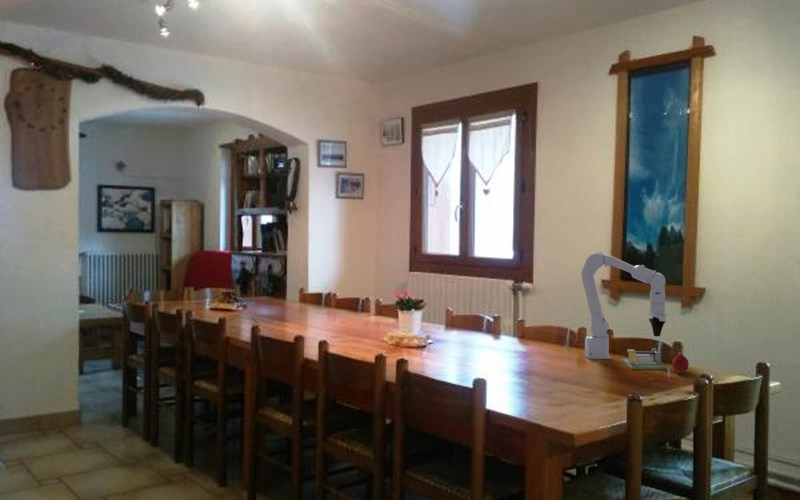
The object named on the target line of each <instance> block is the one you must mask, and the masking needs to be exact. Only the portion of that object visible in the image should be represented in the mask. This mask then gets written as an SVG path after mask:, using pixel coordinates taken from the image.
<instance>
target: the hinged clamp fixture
mask: <svg viewBox="0 0 800 500" xmlns="http://www.w3.org/2000/svg"><path fill="white" fill-rule="evenodd" d="M651 351H656V354H636V365H630V364H628V358H622V359H621V362H622V363H623V364H625V365H626V366H627V367H628V368H629V367H630V368H631V369H630V370H660V371H661V370H666V366H665V365H663V364H662V351H657V348H651Z"/></svg>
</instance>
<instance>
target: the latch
mask: <svg viewBox="0 0 800 500" xmlns="http://www.w3.org/2000/svg"><path fill="white" fill-rule="evenodd" d="M626 351H627V353H628V352H629V353H628V355H627V359H628V364H630V365H636V353H635V351H636V350H635V349H634V348H631V349H630V348H629V349H626Z"/></svg>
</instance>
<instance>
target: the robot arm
mask: <svg viewBox="0 0 800 500" xmlns="http://www.w3.org/2000/svg"><path fill="white" fill-rule="evenodd" d="M603 266H604V267H615V268H617V269H620V270H622V271H625V272H627V273H630V275H631V277H632V278H633V279H635V280H637V281H640V282H642V283H645V284H649V285H650V291H649V313H648V315H649V316H650V317H652V318H648V321H649V322H650V325H651V329H652V333H653V334H652V335H653V336H654V337H660V336H661V334H662V331H663V327H664V325H665V323H666V322H667V321H666V317H668V316H669V314H668V313H665V312H666V291H665V290H666V287H665V286H666V283H667V282H666V278H665V276H664V275H663V274H662V273H661V272H657V271H656V270H655V269H654V270H652V269H649V268H647V267H645V265H644V264H641V265H640V264H637V265H633V264H630V263H628V262H626V261H623V260H622V259H619V258H618V257H615V256H613V255H610V254H607V253H603V252H600V251H595V252H593V253H592V254H590V255H589V256H588V257H587V258H586V260H585V262H584V265H583V267H582V269H581V273H580V275H581V280H582V284H583V288H584V292H585V297H586V300H587V304H588V305H587V306H588V309H589V313H590V321H591V327H590V331H591V334H590V336H589V335H587V336H585V338H584V356H585V357H586V358H587V359H588V360H592V359H593V360H596V359H597V360H601V359H602V360H611V359H612V357H611V356H610V355H609V354H610V353H609V343H610V342H609V340H610V339H609V338H610V336H609V334H608V333H607V332H608V330H609V322H607V320H606V319H605V315H604V312H603V309H602V307H601V303H600V297H599V293H598V289H597V285H596V281H595V274H596V273H597V272H598V269H600V268H601V267H603Z"/></svg>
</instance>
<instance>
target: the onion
mask: <svg viewBox="0 0 800 500" xmlns="http://www.w3.org/2000/svg"><path fill="white" fill-rule="evenodd" d="M689 364H690V363H689V360H688V359H687V357H686V356H684V354H683V353H681V352H680V351H679V352H678V354H677V355H676V356H674V358H673V359H672V362H671V365H672V368H673V369H674V371H676V372H677V374H683V373H685V372H686V371H687V370H688V369H689Z"/></svg>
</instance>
